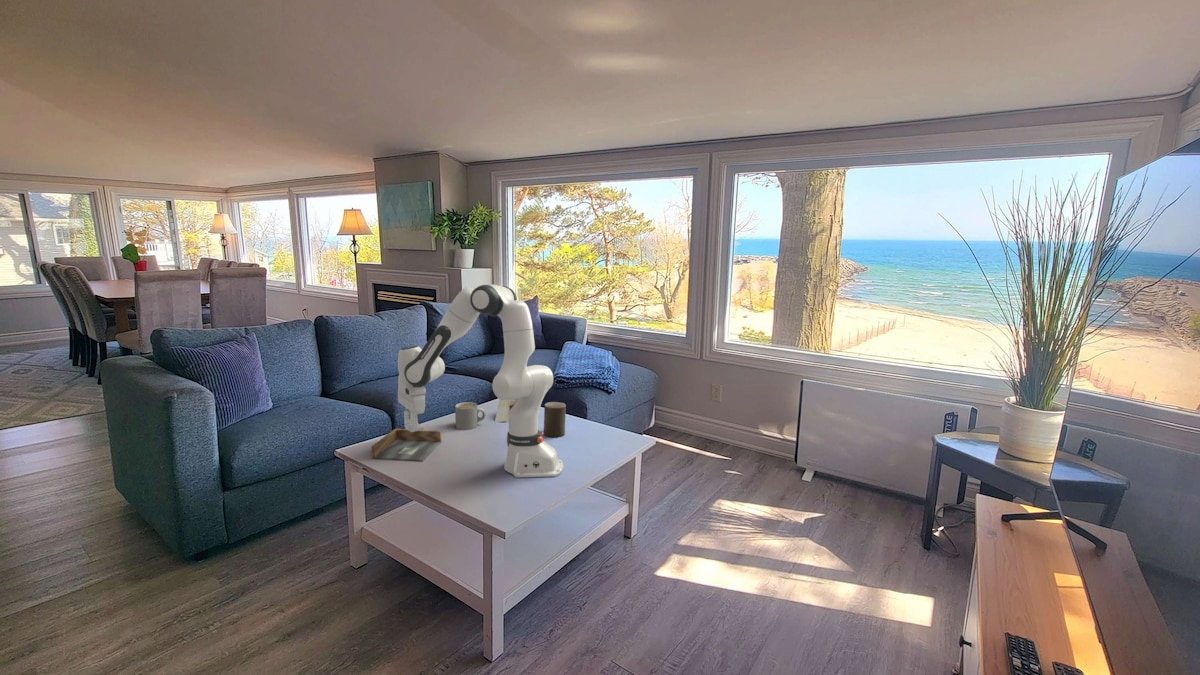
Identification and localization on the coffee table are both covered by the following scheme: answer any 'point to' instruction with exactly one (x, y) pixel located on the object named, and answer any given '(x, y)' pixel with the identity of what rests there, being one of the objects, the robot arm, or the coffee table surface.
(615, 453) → the coffee table surface
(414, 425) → the aluminium bracket
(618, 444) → the coffee table surface
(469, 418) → the coffee mug
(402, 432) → the tray
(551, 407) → the pillar candle
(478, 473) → the coffee table surface
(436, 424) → the coffee table surface
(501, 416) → the wall
